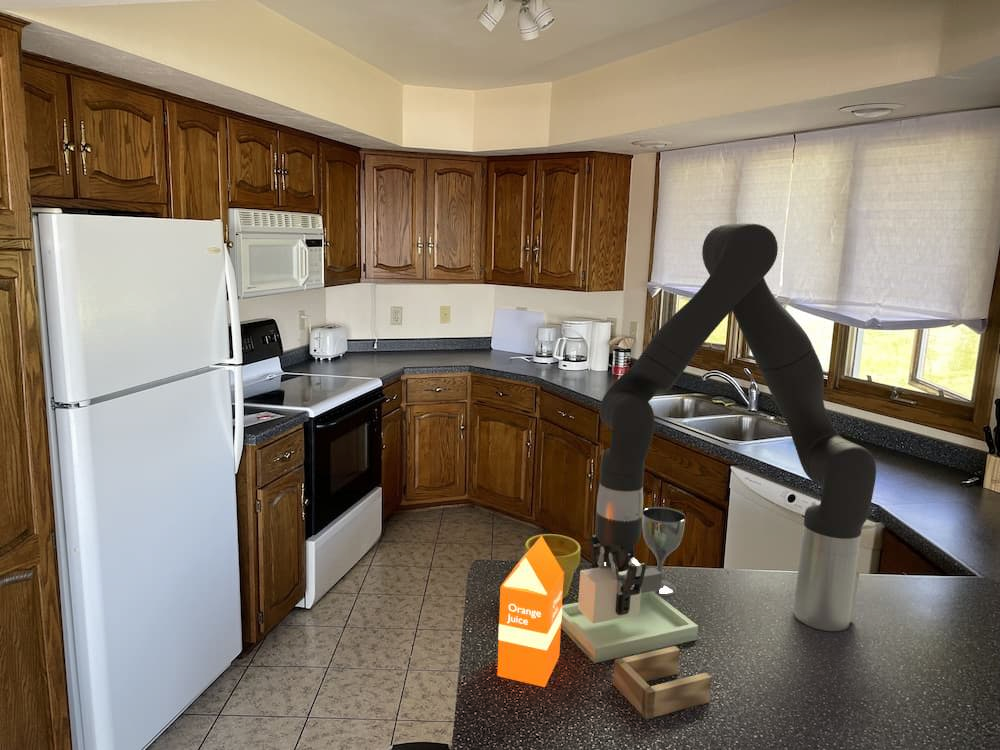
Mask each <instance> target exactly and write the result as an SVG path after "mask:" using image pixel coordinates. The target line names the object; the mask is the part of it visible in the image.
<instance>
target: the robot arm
mask: <svg viewBox="0 0 1000 750" xmlns="http://www.w3.org/2000/svg"><path fill="white" fill-rule="evenodd" d="M701 250H702V251H701V255H702V261H703V264H704V265H703V266H704V267H705V269H706V271H707V273H708V274H709V277H708V278H707V279H706V281H705V282H704V284H703V285H702V286H701V287H700V289H699V290H698V291H697V292H696V293H695V295H694V296H692V298H691V299H690V300H689V301H687V302H686V303H685V304H684V305H683V306H682V307H681V308H680V309H679V310H677V311H676V312H675V313H674V314H673V315H672V316H671V317H670V318H669V319H668V320H666V321H665V323H664V324H662V326H661V327H660V328H659V329H658V330H657V332H656V333H655V334H654V335H653V337H652V339H651V340H650V341H649V342H648V344H647V345H646V347H645V348H644V349H643V351H642V352H641V354H640V356H639V357H638V359H637V360H636V362H635V363H634V364H633V365H632V366H631V367H630V368H628V369H627V370H626V371H625V372H624V373H623V374H622V375H621V376H620V377H618V379H617V380H616V381H614V383H612V385H611V386H610V387H609V388H608V390H607V391H606V392H605V394H604V396H603V398H602V399H601V401H600V405H599V411H598V412H599V417H600V420H601V422H602V423H603V424H604V426H606V427H607V428H608V429H609V430H611V438H610V443H609V447H608V448H607V449H605V451H604V452H603V453H602V456H601V462H600V473H599V474H600V477H599V487H598V492H597V498H596V499H597V500H596V513H595V527H594V529H595V530H594V533H595V534H593V535H590V536H589V543H590V544H589V545H590V560H591V561H590V563H591V569H593V568H599V567H600V569H601V568H607V567H611V569H612V576H613V579H614V580H616V581H617V597H616V613H617V614H618V615H624V614H627V613H628V612H629V609H630V607H629V606H630V596H631V595H637V594H639V593H640V590H641V586H642V582H643V578H644V574H645V570H646V569H647V566H646V563H645V562H639V561H638V560H637V559H636V552H635V546H636V544H637V543H638V542H639V541H640V540H641V539H642V537H641V536H642V517H643V511H644V510H643V509H644V491H643V490H644V475H645V461H646V459H647V456H648V453H649V450H650V447H651V443H652V440H653V436H654V431H655V413H654V409H653V407H652V405H651V404H650V402H651V400H652V399H653V398H654V397H655V396H656V395H657V394H658V393H661V392H667V391H669V390H670V389H672V387H673V386H674V385H675V384H676V382H677V381H678V379H679V378H680V377H681V375H682V374H683V372H684V371H685V370H686V368H687V366H689V364H690V362H691V361H692V360H693V359H694V357H695V356H696V355H697V352H699V351H700V349H701V348H702V346H703V345H704V343H705V342H706V341H707V340H708V339H709V337H710V336H711V335H712V334H713V333H714V331H715V330H716V328H717V327H718V326H719V325H720V324H721V323H722V322H723V320H724V319H725V318H726V317H727V316H728V315H729V314H730V313H731V312H732V313H733V316H734V317H735V320H736V322H737V324H738V327H739V329H740V331H741V333H742V335H743V338H744V340H745V341H746V344H747V346H748V349H749V350H750V352H751V354H752V357H753V359H754V362H755V364H756V366H757V368H758V370H759V372H760V374H761V376H762V378H763V381H764V383H765V385H766V387H767V388H768V390H769V392H770V394H771V396H772V397H773V400H774V402H775V403H776V406H777V408H778V411H779V412H780V414H781V416H782V418H783V420H784V421H785V424H786V425H787V428H788V430H789V433H790V436H791V439H792V442H793V445H794V447H795V450H796V451H795V452H796V453H797V456H798V459H799V463H800V464H801V467H802V469H803V472H804V473H805V474H806V476H807V477H808V479H810V480H811V481H812V482H814V483H815V484H816V485H818V486H820V487H822V492H821V493H822V495H821V499H820V504H813V505H811V506H808V507H807V508H806V509H805V512H804V515H803V516H804V517H803V527H802V528H803V529H802V536H801V545H800V553H799V563H798V568H797V569H798V571H797V580H796V588H795V589H796V590H795V595H794V605H793V615H794V617H795V618H796V619H797V620H798V621H799V622H801V623H802V624H805V625H806V626H809V627H811V628H813V629H818V630H821V631H827V632H840V631H844V630H846V629H848V628H849V626H850V624H851V623H853V622H854V617H855V610H856V608H855V607H856V602H857V594H858V587H859V579H860V572H859V571H858V570H857V568H858V560H859V552H860V544H861V536H862V529H863V526H864V524H865V523H866V522H867V520H868V518H869V515H870V511H871V510H870V509H871V505H872V501H873V496H874V490H875V484H876V477H877V466H876V461H875V458H874V456H873V454H872V452H871V451H869V450H868V449H866V448H865V447H863V446H862V445H858V444H857V443H854V442H852V441H849V440H848V439H845V438H843V437H842V436H841V435H840V434H839V432H838V431H837V429H836V428H835V426H834V425H833V422H832V420H831V418H830V416H829V414H828V412H827V410H826V408H825V404H824V402H825V401H824V393H825V392H824V389H825V375H824V370H823V367H822V364H821V361H820V359H819V357H818V354H817V353H816V350H815V348H814V346H813V344H812V342H811V340H810V338H809V336H808V334H807V333H806V331H805V330H804V329H803V328H802V326H801V324H799V322H798V321H797V320H796V319H795V318H794V317H793V315H791V313H790V312H789V311H788V310H787V309H786V308H785V307H784V306H783V304H782V303H780V302H779V301H778V299H777V298H776V297H775V296H774V294H773V293H772V291H771V289H770V287H769V286H768V284H767V282H766V279H765V276H766V275H767V274H768V273H769V272H770V270H771V269H772V268H773V266H774V265H775V262H776V261H777V257H778V250H779V246H778V241H777V238H776V235H775V234H774V232H773V231H772V230H771V229H770V228H768V226H766V225H763V224H761V223H755V222H739V223H729V224H727V223H726V224H723V225H719V226H717V227H714V228H713V229H712V230H710V231H709V232H708V234H707V235H706V237H705V239H704V241H703V244H702V249H701ZM597 557H598V558H597ZM626 570H627V573H625V574H620V575H619V572H622V571H626ZM625 579H626V581H625V585H624V587H623V585H622V580H625ZM633 585H634V587H633Z"/></svg>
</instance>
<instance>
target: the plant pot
mask: <svg viewBox="0 0 1000 750" xmlns="http://www.w3.org/2000/svg"><path fill="white" fill-rule="evenodd" d="M541 536H542V537H543V539H544V541H545V542H546V544H547V546H548V547H549V549H550V551H551V552H552V554H553V556H554V557H555V559H556V561H557V562H558V564H559V566H560V568H561V569H562V571H563V572H564V575H563V595H562V600H564V599H565V598H567V596H568V594H569V591H570V588H571V584H572V580H573V577H574V573H575V570H576V569H577V568H578V567H579V565H580V561H581V550H582V548H581V545H580V543H579V542H578V541H576V540H575V539H574V538H572V537H569V536H565V535H561V534H554V533H553V534H552V533H544V534H537V535H534V536H531V537H530V538H528V539H527V540H526V542H525V543H524V556H525V555H526V553H527V552H528V551H529V550H530V549H531V548H532V546H533V545H534V544H535V543H536V542H537V540H538V539H539V538H540V537H541Z"/></svg>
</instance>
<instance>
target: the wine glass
mask: <svg viewBox="0 0 1000 750" xmlns="http://www.w3.org/2000/svg"><path fill="white" fill-rule="evenodd" d="M685 525H686V515H685V513H683V511H681V510H678V509H675V508H671V507H665V506H664V507H663V506H651V507H648V508H645V509H644V510H643V513H642V527H641V529H642V534H643V539H644V542H645V543H646V545H647V547H648V548H649V549H650V550H651V552H652V553H653V554H654V556H655V559H656V563H657V564H656V565H657V566H656V567H657V568H656V569H657V570H658V571H659V572H661V573H662V571H663V567H664V562H665V560H666V559H667V557H668V556H669V555H670V554H672V552H674V551H676V549H677V548H679V546H680V544H681V542H682V538H683V535H684V533H685V527H686V526H685ZM662 574H663V573H662ZM653 592H655V593H656V594H657V595H659V596H660V597H671V596H674V595H675V594H677V592H678V588H677V586H676V585H675V584H673V583H672V582H671V581H667V580H664V579H662V580H661V590H656V591H653Z"/></svg>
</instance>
